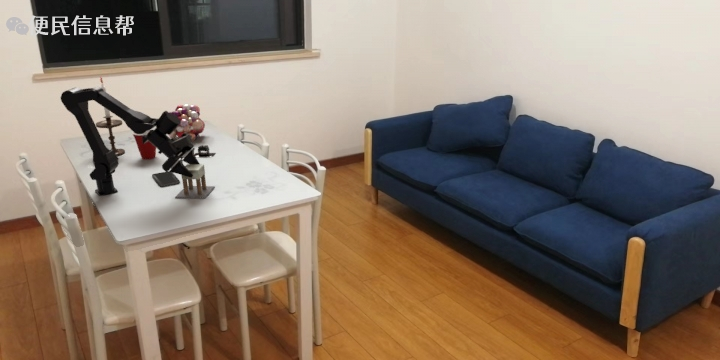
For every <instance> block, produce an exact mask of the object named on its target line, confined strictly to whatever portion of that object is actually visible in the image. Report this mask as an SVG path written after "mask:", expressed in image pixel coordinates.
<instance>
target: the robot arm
mask: <svg viewBox="0 0 720 360" xmlns="http://www.w3.org/2000/svg"><path fill="white" fill-rule="evenodd" d="M60 101H61V102H62V104H63V106H64V107H65V109H66V110H67V111H68V112H70V113H71V115H73V116H74V117H75V120H76V121H77V123H78V125H79V128H80V129H81V132H82V133H83V135H84V138H85V139H86V141H87V143H88V145H89V148H90V150H91V152H92V163H93V165H94V166H93V167H94V169H93V170H92V171H91V172H90V174H89V178H90V179H91V181H95V183H96V189H95V190H94V191H95V192H96V194H98V196H100V197H101V196H105V195H109V194H112V193H118V191H119V190H118V189H117V188H115V184H114V179H113V174H115V173H116V169H117V168H118V167H119V159H120V158H119V156H116V153H115V151H114V150H111V149H109V148H108V147H107V146H106V144H105V142H104V140H103V138H102V135H101V134H100V132H99V130H98V127H96V123H95V121H94V120H93V118H92V115H91V113H90V111H89V101H94V102H95V103H97V104H98V105H100V106H102V107H103V108H104V107H105V108H106V109H108V110H109V112H110V113H111V114H114V115H115V116H117V117H118V118H120V120H121V121H122V122H124V123H125V125H126V127H127V128H129V129H130V130H131V131H132V132H134V133H136V134H143V133H145V132H146V131H148V130H150V131H149V132H148V134H147V135H143V136H142V143H143V144H144V143H146V142H147V141H149V142H150V143H152V144H153V145H154V146H155V147H156V150H158V152H157V153H158V154H159V155H161V154H163V156H165V157H166V158H167V159H166V160H165V161H164V162H163V164H162V165H161V167H162V170H163V172H168V171H169V172H173V174H178V175H184V176H187V177H192V176H193V175H192V173H191V172H190V171H189V170H188V169H187V168H186V167H185V166H186V165H185V164H184V163H187V164H201V163H200V162H199V159H197V157H195V155H194V154H195V145H194V144H193V143H194V141H192V139H191V138H192V135H190V134H188V133H187V132H185V133H183V134H181V138H180V137H178V138H177V139H176V137H175V138H170V137H169V135H170V134H172V132H173V131H174V130H175V129H176V128H177V127H178V126H179V125H180V123H181V121H180V119H179V118H178V117H177V116H176V115H174V114H172V113H169V112H170V111H168V110H164V111H163V112H162V113H161V115H160V116H159V118H154V117H151V116H150V115H148V114H145V113H144V112H141V111H137V110H134V109H131V108H130V107H129V106H127V105H126V104H124V103H122V102H121V101H120V100H119V99H116V98H115V97H114V96H112V95H111V94H110V93H108V92H107V91H106V92H105V91H104V90H103V89H102V88H101V86H100V87H99V86H96V87H91V88H90V87H88V88H80V87H73V88H70V89H68V90H64V91H62V93H61V96H60ZM153 128H154V129H153ZM110 150H111V151H110Z"/></svg>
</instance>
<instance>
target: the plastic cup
mask: <svg viewBox="0 0 720 360" xmlns="http://www.w3.org/2000/svg"><path fill="white" fill-rule="evenodd" d="M149 131H150V130H148V131H146V132H145V133H143V134H136V133H134V132H133V131H132V132H131V134H132V136H133V139H134V140H135V143H136V145H137V148H138V152H139V154H140V157H141V159H142V160H153V159H155V158H156V156H157V155H156V153H157V148H156V147H155V146H154V145H153V144H152V143H150V142H149V141H147V142H146V143H144V144H143V143H142V136H143V135H147V134H148V132H149Z"/></svg>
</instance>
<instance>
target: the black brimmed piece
mask: <svg viewBox="0 0 720 360" xmlns="http://www.w3.org/2000/svg"><path fill="white" fill-rule="evenodd" d="M216 154H217V153H216V152H210V147H209V145H207V144H206V145H203V144H202V145H201V144H200V145H199V146H198V148H197V152H194V155H195V157H196V158H211V157H215V155H216Z"/></svg>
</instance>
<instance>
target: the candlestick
mask: <svg viewBox="0 0 720 360" xmlns="http://www.w3.org/2000/svg"><path fill="white" fill-rule="evenodd" d="M99 80H100V82H101V86H100V88H102V89H103V90H104V91H105V92H106V93H107V89H106V86H105V85H104V81H103V78H102V76H100V79H99ZM103 110H104V114H105V116H103V117H102V118H103V119H105V120H100V121H98V122H96V123H95V125H96V128H97V129H98V128H99V129H108V133H109V134H108V135H109V136H107V137H108V141H110V142H109V144H110V145H111V148H110V149H109V150H110V151H111V150H114V151H115V153H116V156H117V157H119V156H122V155H124V154H125V153H126V151H125V149H123V148H116V145H115V144H116V141H115V140H116V137H115V135H113V128H117V127H120V126H122V125H123V120H122V119H112V118H113V117H114V116H113V115H111V114H110V113H111V111H109V110H108V109H106V108H105V107H103Z"/></svg>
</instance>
